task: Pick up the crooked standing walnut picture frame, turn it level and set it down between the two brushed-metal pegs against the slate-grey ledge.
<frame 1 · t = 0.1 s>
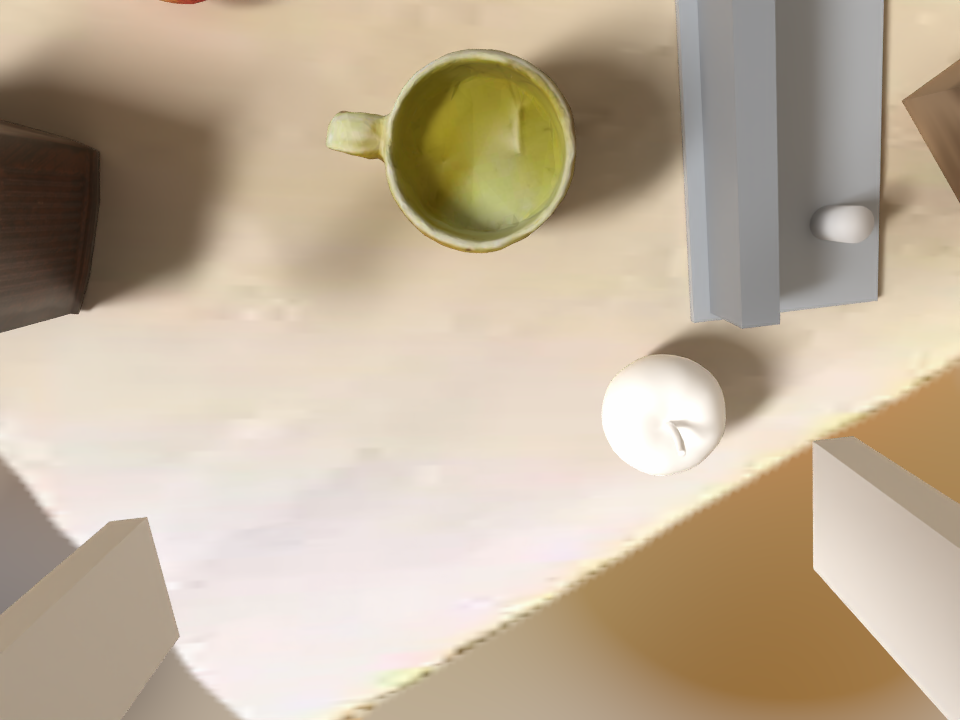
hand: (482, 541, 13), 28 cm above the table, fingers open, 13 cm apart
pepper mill: (51, 227, 39), on the table
ledge: (715, 102, 37), on the table
mug: (458, 155, 38), on the table
plain white apple: (646, 394, 41), on the table
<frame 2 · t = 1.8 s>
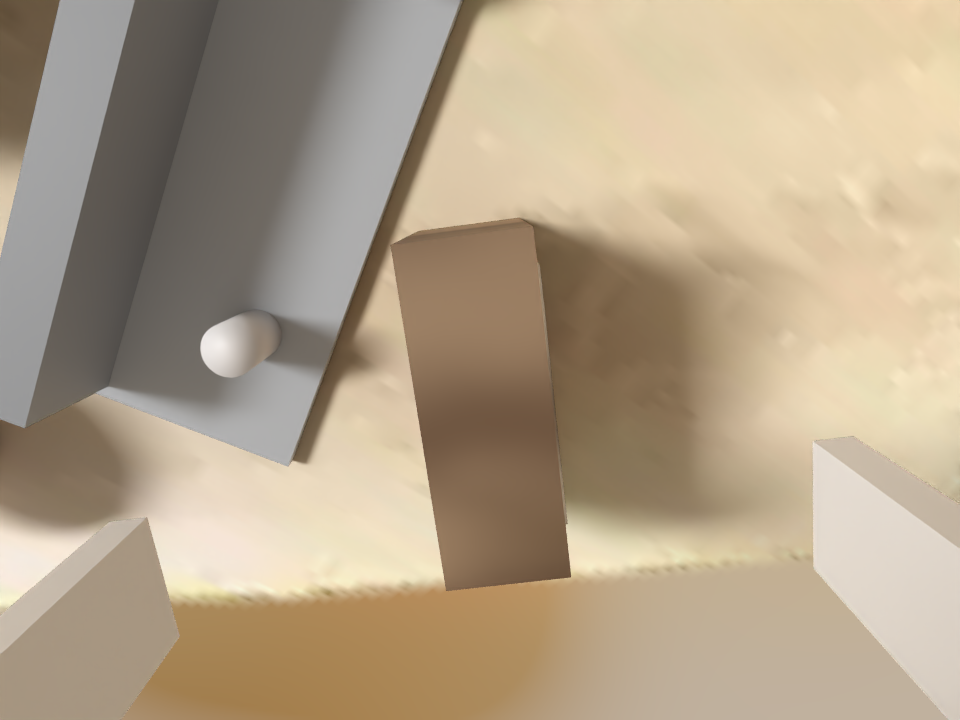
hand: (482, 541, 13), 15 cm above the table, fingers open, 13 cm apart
ledge: (171, 91, 24), on the table
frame: (486, 357, 27), on the table
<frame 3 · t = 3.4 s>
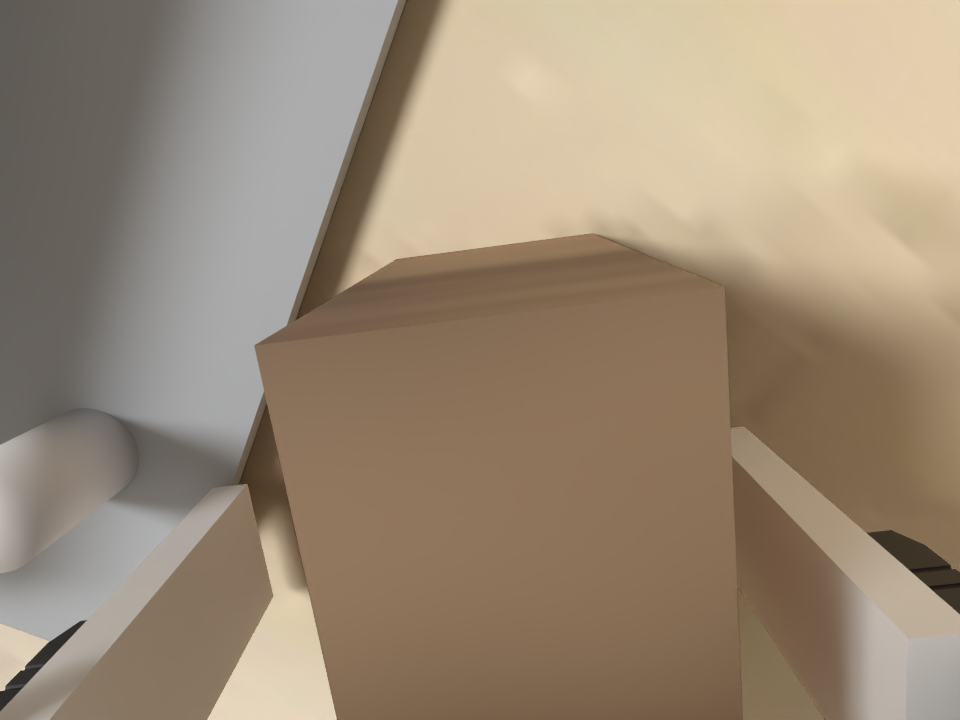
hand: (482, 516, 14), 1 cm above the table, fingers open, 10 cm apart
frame: (524, 492, 15), on the table
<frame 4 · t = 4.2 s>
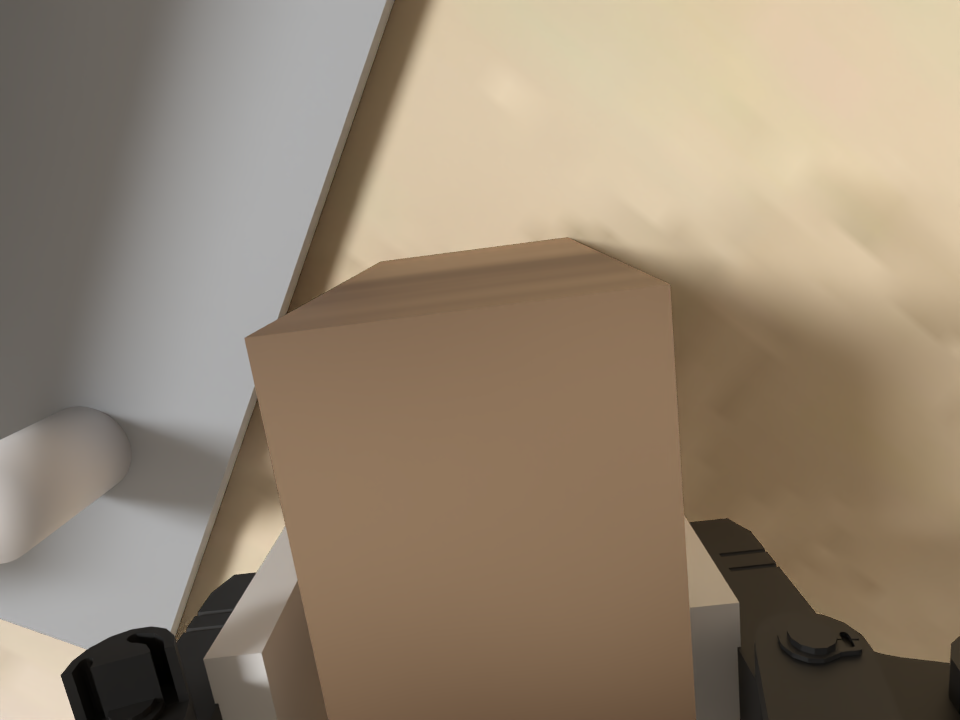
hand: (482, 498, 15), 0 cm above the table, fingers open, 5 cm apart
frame: (504, 486, 15), on the table, touching gripper
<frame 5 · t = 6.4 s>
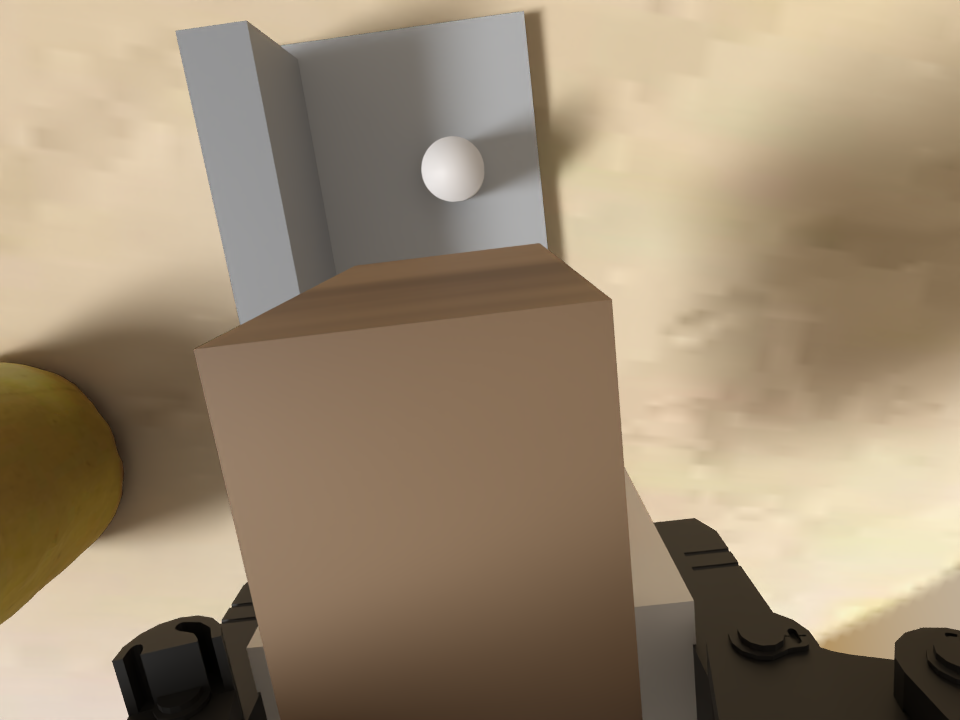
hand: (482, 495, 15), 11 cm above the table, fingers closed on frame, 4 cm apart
ledge: (335, 385, 26), on the table
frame: (477, 489, 15), point 11 cm above the table, touching gripper
when the fingers open (2 cm above the table, at t = 8.2 s): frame stays where it is, resting on ledge.
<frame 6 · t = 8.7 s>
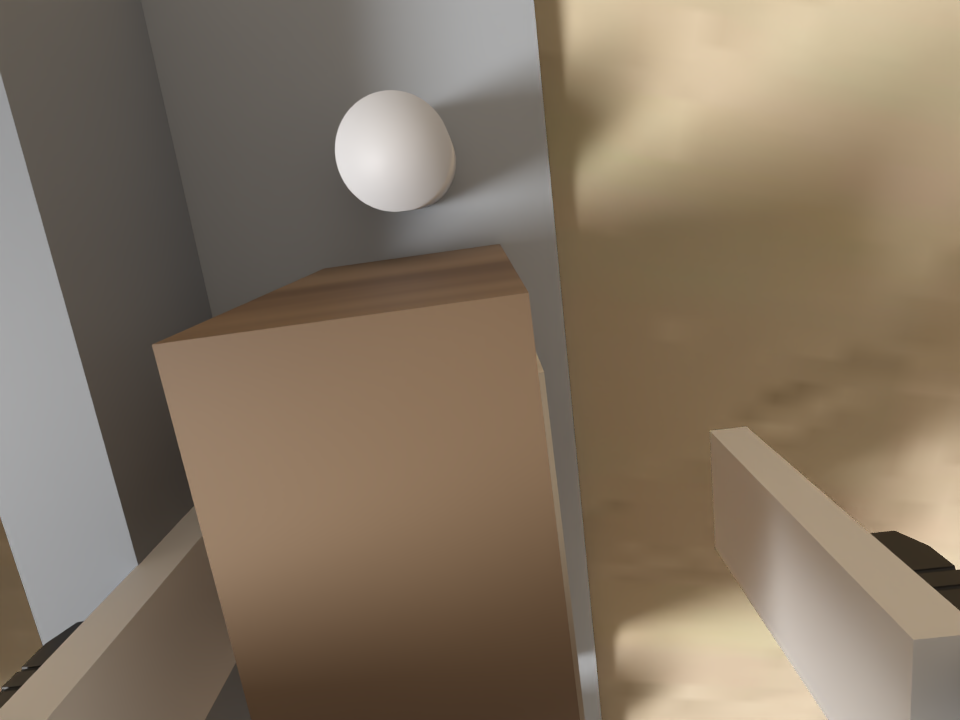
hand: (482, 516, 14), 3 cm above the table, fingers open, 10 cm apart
ledge: (223, 497, 17), on the table
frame: (447, 480, 16), point 1 cm above the table, touching ledge
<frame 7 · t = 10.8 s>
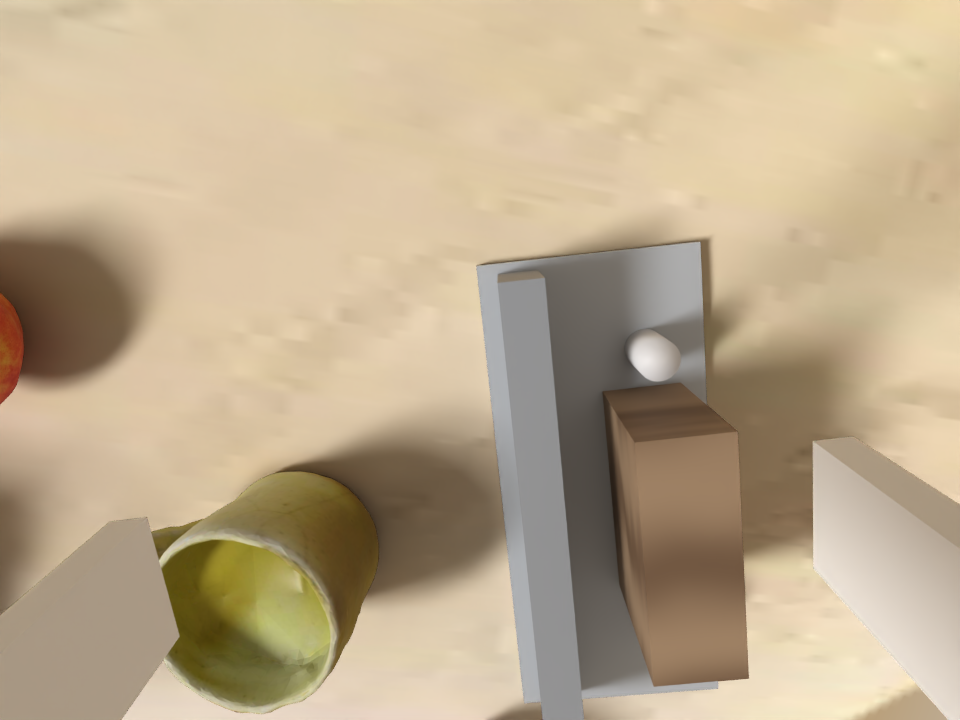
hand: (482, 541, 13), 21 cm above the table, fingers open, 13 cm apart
ledge: (538, 492, 35), on the table
mug: (273, 531, 36), on the table
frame: (648, 487, 34), point 1 cm above the table, touching ledge
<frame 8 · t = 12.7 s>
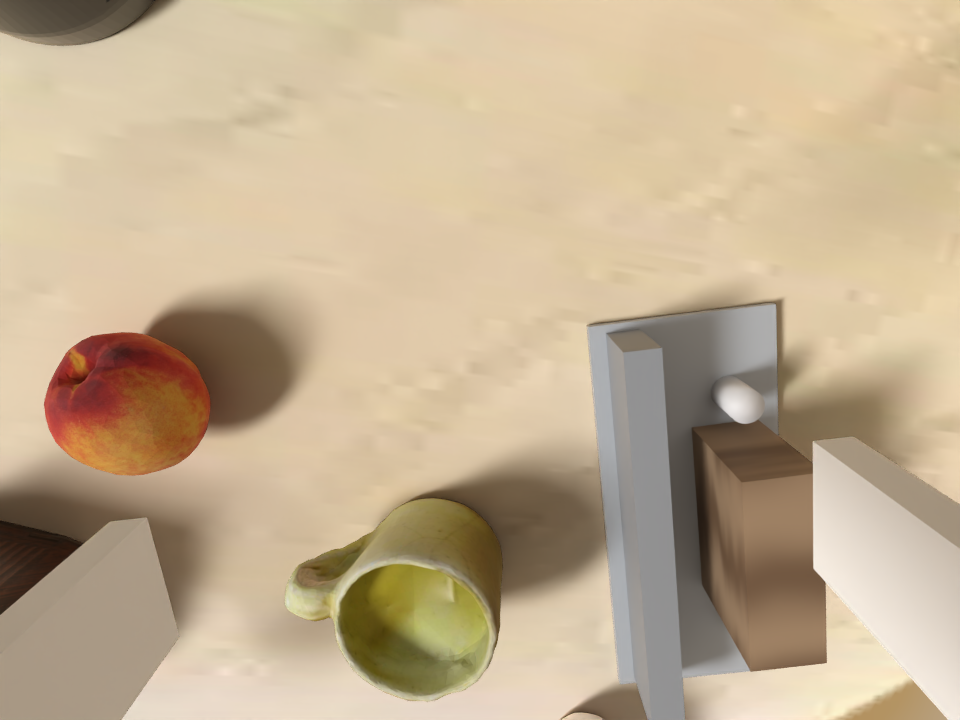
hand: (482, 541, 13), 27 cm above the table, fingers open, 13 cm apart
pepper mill: (46, 601, 44), on the table
fruit: (169, 383, 40), on the table
ledge: (634, 510, 42), on the table
mug: (407, 547, 43), on the table
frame: (728, 504, 41), point 1 cm above the table, touching ledge
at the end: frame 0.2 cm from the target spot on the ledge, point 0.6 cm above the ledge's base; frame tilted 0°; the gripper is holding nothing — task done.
